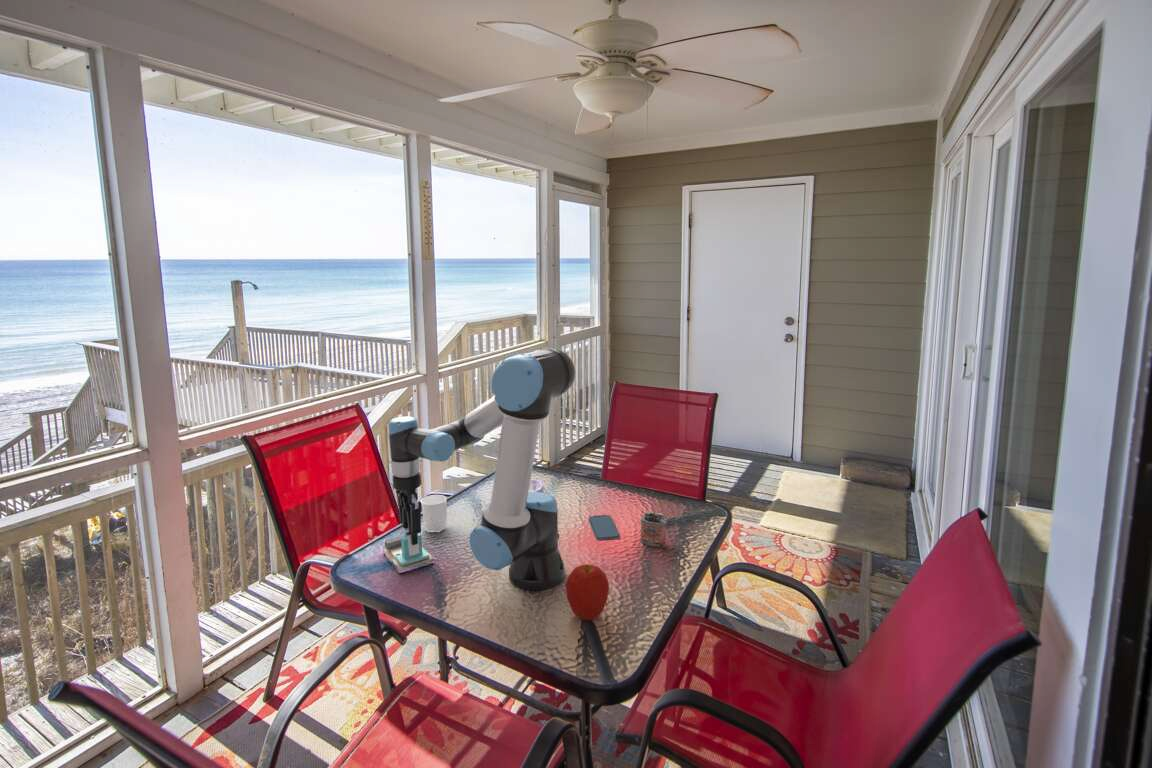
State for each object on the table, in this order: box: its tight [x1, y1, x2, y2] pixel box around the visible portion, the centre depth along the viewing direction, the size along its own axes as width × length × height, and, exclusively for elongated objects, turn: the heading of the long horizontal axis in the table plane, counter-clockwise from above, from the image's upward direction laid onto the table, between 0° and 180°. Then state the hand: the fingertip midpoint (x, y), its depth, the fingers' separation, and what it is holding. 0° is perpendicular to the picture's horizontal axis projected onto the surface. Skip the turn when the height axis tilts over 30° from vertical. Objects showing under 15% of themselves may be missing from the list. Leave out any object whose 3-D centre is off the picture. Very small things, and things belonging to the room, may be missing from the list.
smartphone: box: [588, 514, 620, 541], centre depth 188 cm, size 8×2×15 cm
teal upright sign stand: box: [396, 533, 430, 566], centre depth 166 cm, size 5×8×7 cm, turn 125°
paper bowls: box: [528, 478, 545, 493], centre depth 204 cm, size 15×15×8 cm
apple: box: [565, 563, 610, 621], centre depth 140 cm, size 10×10×14 cm
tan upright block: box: [639, 510, 667, 548], centre depth 177 cm, size 8×3×10 cm, turn 62°
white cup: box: [420, 494, 448, 532], centre depth 188 cm, size 8×8×10 cm
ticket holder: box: [382, 535, 435, 570], centre depth 169 cm, size 14×10×4 cm
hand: (412, 551), depth 166 cm, fingers closed on teal upright sign stand, 2 cm apart
